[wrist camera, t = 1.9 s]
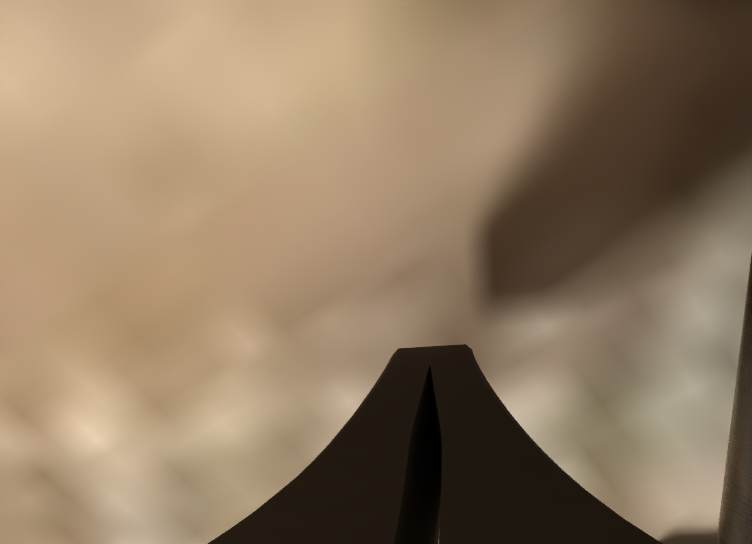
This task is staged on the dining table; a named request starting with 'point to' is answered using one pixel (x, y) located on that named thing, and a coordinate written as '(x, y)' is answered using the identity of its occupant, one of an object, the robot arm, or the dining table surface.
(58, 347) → the dining table surface
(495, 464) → the robot arm
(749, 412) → the sliding jaw
